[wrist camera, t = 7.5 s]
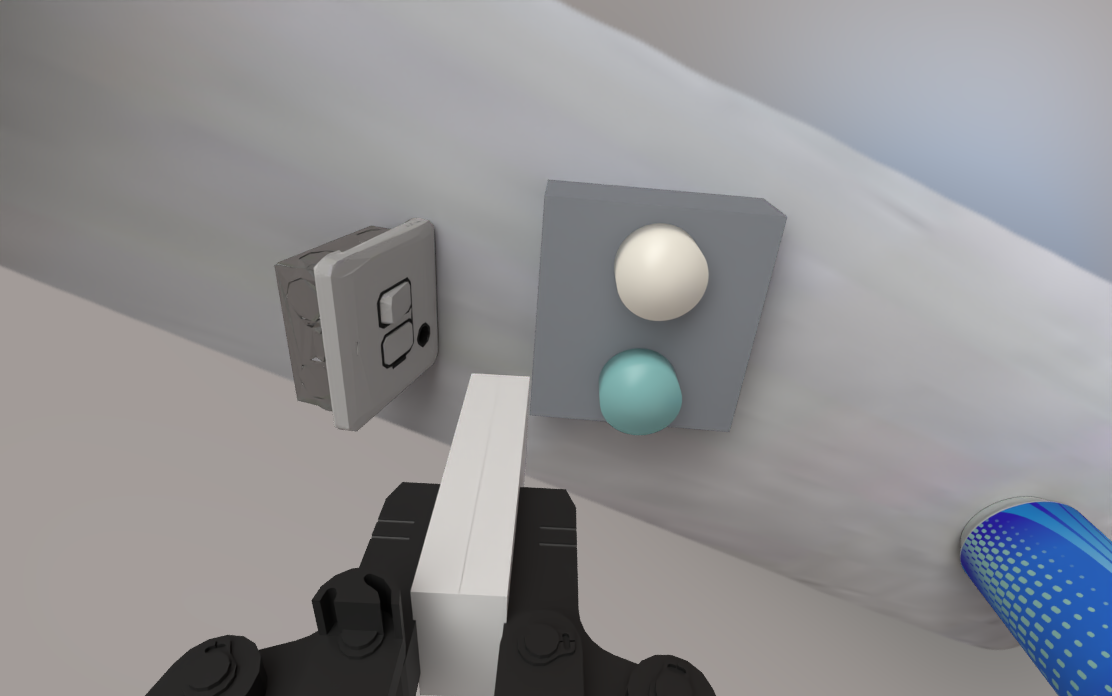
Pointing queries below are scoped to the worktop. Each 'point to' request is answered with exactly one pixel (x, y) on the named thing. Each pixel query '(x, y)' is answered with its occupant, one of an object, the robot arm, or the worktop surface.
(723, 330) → the mount block
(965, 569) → the beer can
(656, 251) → the knob cream
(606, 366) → the knob teal
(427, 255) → the electrical switch
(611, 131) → the worktop surface
